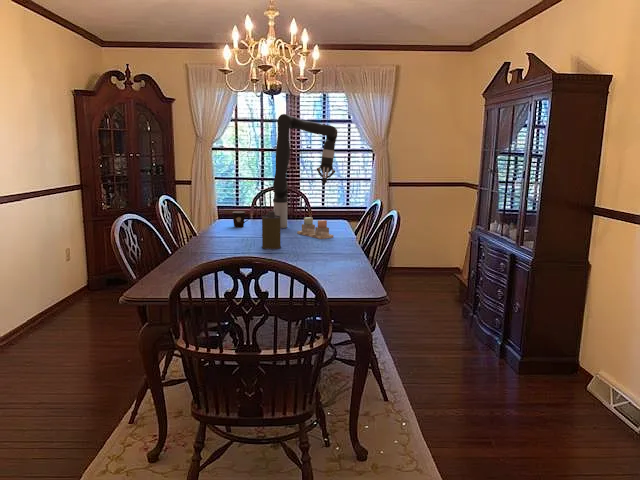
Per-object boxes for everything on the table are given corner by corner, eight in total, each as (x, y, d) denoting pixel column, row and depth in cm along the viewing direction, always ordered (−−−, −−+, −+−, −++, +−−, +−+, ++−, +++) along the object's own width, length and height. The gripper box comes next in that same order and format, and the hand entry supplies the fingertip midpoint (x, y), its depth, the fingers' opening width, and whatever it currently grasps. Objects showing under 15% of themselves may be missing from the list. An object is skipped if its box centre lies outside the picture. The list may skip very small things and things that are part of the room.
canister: (283, 248, 285) (283, 212, 281) (264, 250, 281) (264, 213, 277) (277, 245, 294) (277, 210, 291) (259, 246, 291) (259, 210, 287)
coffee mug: (230, 227, 353) (230, 212, 351) (235, 225, 361) (235, 211, 359) (246, 228, 350) (245, 213, 348) (251, 226, 358) (251, 211, 356)
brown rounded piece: (315, 231, 321) (315, 220, 320) (322, 230, 325) (322, 219, 323) (321, 232, 317) (321, 221, 316) (328, 231, 320) (328, 220, 319)
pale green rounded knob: (302, 228, 332) (302, 217, 331) (309, 227, 335) (309, 217, 334) (307, 229, 328) (307, 218, 326) (314, 228, 331) (314, 218, 330)
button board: (297, 233, 333) (297, 224, 332) (309, 231, 339) (309, 222, 338) (320, 239, 314) (320, 229, 313) (333, 237, 321) (333, 227, 320)
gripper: (317, 155, 335) (313, 182, 337) (337, 158, 335) (333, 185, 337) (318, 156, 343) (314, 182, 345) (338, 158, 342) (334, 185, 344)
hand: (324, 183), depth 341 cm, fingers closed
